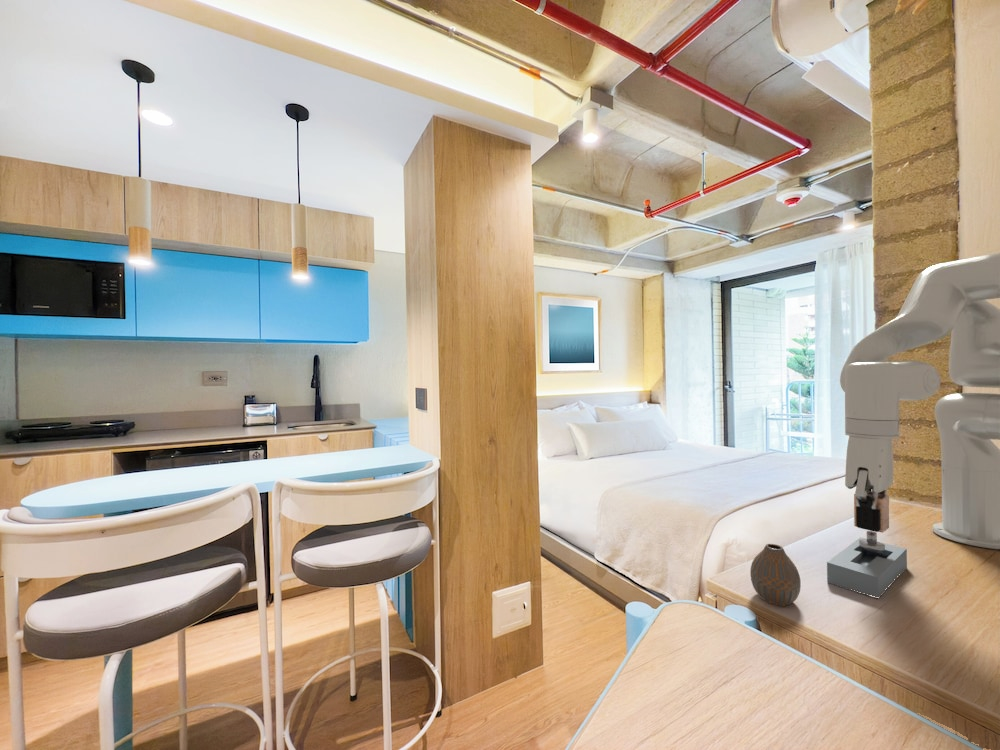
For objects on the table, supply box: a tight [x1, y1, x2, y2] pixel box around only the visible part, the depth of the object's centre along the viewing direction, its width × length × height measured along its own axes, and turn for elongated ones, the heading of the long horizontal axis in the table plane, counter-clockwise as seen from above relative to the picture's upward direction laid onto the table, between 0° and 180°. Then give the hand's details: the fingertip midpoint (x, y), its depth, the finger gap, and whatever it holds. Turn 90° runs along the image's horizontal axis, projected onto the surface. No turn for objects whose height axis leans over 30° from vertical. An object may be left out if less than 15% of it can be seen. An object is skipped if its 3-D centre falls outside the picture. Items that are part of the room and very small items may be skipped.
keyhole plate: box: [826, 537, 908, 597], centre depth 76 cm, size 18×7×4 cm, turn 125°
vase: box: [749, 543, 802, 607], centre depth 69 cm, size 7×7×9 cm
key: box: [853, 493, 890, 553], centre depth 77 cm, size 4×4×10 cm
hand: (871, 525), depth 77 cm, fingers closed on key, 4 cm apart
